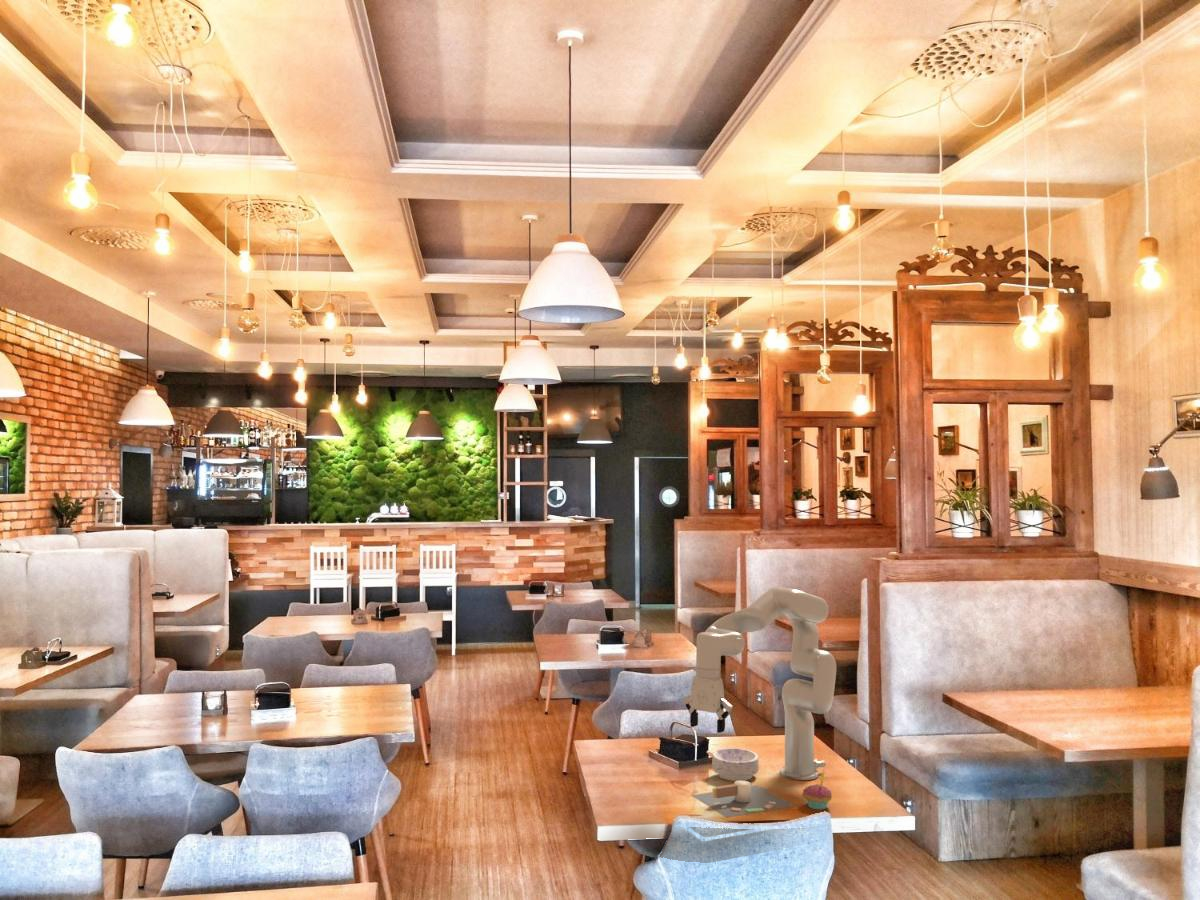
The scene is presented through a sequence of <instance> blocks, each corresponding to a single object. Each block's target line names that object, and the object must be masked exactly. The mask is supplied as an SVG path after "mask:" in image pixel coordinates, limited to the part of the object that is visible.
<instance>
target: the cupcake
mask: <svg viewBox="0 0 1200 900" xmlns="http://www.w3.org/2000/svg"><path fill="white" fill-rule="evenodd" d="M824 778H825V768H824V769H823V770H822V772H821V777H820V784H812V785H808V786H807V787H806V786H805V788H804V789H803V790H802V797H803V798H804V799H805V800H806V802H807V805H808V807H809V808H811V809H813V810H814V809H815V810H825V809H826V808H827V806H828V804H829V801H831V800H832V797H833V795H832V791H831V789H829V788H828V787H826V786H824V785H823V783H824Z"/></svg>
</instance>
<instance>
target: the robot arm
mask: <svg viewBox="0 0 1200 900" xmlns="http://www.w3.org/2000/svg"><path fill="white" fill-rule="evenodd" d="M829 612H830V610H829V605H828V603H827V602H826V600H825V599H824V598H822V597H820V596H818V595H813V594H811V593H809V592H808V593H807V592H805V591H802V590H798V589H794V588H787V587H786V588H785V587H779V586H778V587H775V586H774V587H771V588H769V589H767V591H766V592H764V593H763V594H762V595H760V596H759V597H758V598H757V599H755V600H754V601H753V602H752V603H751V604H749V606H747V607H744V608H742V609H739V610H737V611H734V612H731V613H729V614H726V615H724V616H722V617H720V618H718V619H717V620H716V621H715V622H713V623H712V624H711V625H710V626H708V627H707V628H706V630H705V631H702V632H699V633H698V634H697V636H696V647H695V648H696V651H695V653H696V655H695V657H696V658H695V666H694V667H693V668H692V671H693V672H694V673H695V675H694V676H693V678H692V681H691V688H690V694H689V695H686V696H684V697H683V702H684V704H685V707H686V709H687V710H688V713H689V714H690V715H689V717H690V718H689V722H690V723H689V724H690V728H694V727H697V726H698V725H699V713H698V712H697V711H701V712H705V713H706V712H707V713H712V714H716V716H717V717H718V719H717V721H716V733H718V734H719V733H720V734H721V733H723V732H725V730H726V719H727V718H728V717H729V716H730V715H731V712H732V710H733V708H734V706H733V705H732V704H731V703H729V702H728V701H727V700H726V699H725V689H724V682H723V679H722V678H721V671H722V670H721V665H722V664H721V662H722V661H721V659H722V658H721V657H722V656H729V657H734V656H738V655H740V654H741V653H742V652H743V651H744V650H745V647H746V641H745V638H744V636H743V635H742V634H744V633H754V632H759V631H762V630H763V629H765V628H766V627H767V626H769V625H770V624H771V623H772V622H774V620H776V619H777V618H778V617H779V616H781V615H785V616H786V618H787V619H788V621H789V622H790V624H791V627H792V643H791V650H790V651H791V653H790V661H789V663H790V669H791V671H792V673H795V674H797V675H800V676H802V677H803V676H804V677H808V678H811V679H812V681H810V680H806V679H802V678H790V679H788V680H787V681H785V682H784V684H783V685H782V689H781V696H782V705H783V708H784V766H782V767H780V769H779V773H780V775H781V776H783V777H785V778H787V779H789V780H790V779H791V780H797V781H810V780H814V779H817V778H819V771H818V770H817V769H818V768H825V767H826V761H825V760H819V761H818V759H815V756H814V755H815V720H814V717H813V714H812V713H814V714H818V715H823V714H826V713H828V712H829V710H830V709H831V708H832V704H833V701H834V695H835V687H836V677H837V662H836V659H835V657H834V656H833V654H832V653H831V652H829V651H826V650H822V649H819V638H820V636H819V635H820V634H819V628H818V625H817V624H820V623H823V622H824V621H825V620H827V618H828V616H829ZM724 709H725V711H724Z"/></svg>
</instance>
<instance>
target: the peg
mask: <svg viewBox="0 0 1200 900" xmlns="http://www.w3.org/2000/svg"><path fill="white" fill-rule="evenodd" d="M751 784H752V783H751V782H749V781H748V780H744V781H733V783H732V784H724V785H719V786H714V787H712V792H713V794H712V797H713V798H723V797H729V796H734V800H735V801H737V802H741V803H747V802H750V801H751V786H752V785H751Z"/></svg>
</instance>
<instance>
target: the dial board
mask: <svg viewBox="0 0 1200 900" xmlns="http://www.w3.org/2000/svg"><path fill="white" fill-rule="evenodd" d="M712 794H713V791H711V792H705V793H704V792H703V793H697V794H693V795H691V796H692V797H694V798H695V799H696V800H698V801H700V802H701V803H703V804H704V805H706V806H708V807H709V808H711V809H713V810H714V811H716V812H718V813H719V814H721V815H722V816H724V817H726V818H730V817H732V818H733V817H737V816H743V815H749V814H754V813H755V814H756V813H761V812H766V811H767V812H768V811H773V810H780V809H784V808H785V809H786V808H789V807H795V805H794V804H792V803H791V802H789V801H787V800H785V799H783V798H781V797H779V796H778V795H776V794H774V793H772V792H770V791H768V790H766V789H764V788H763V787H761V786H759V785H751V801H750V802H747V803H741V802H737V801H735V800H734V796H729V797H723V798H713V797H712Z"/></svg>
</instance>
